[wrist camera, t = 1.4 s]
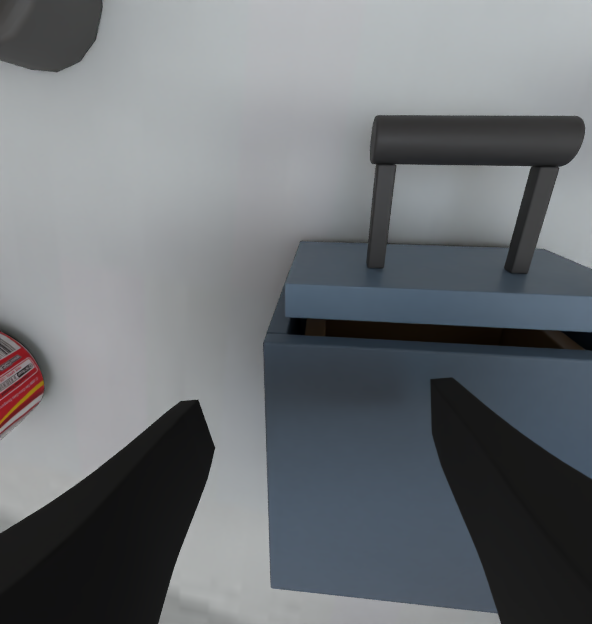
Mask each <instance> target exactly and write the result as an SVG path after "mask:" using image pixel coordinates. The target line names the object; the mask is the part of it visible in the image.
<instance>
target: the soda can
mask: <svg viewBox="0 0 592 624" xmlns="http://www.w3.org/2000/svg"><path fill="white" fill-rule="evenodd" d="M43 393H44V381H43V377H42V373H41V371H40V369H39V367H38V365H37V362H36V361H35V359H34V357H33V356H32V355H31V353H30V352H29V351H28V350H27V349H26V348H25V347H24V346H23V345H22V344H21V343H19V342H18V341H16V340H15V339H13V338H11V337H10V336H8V335H6V334H4V333H2V332H1V331H0V440H1V439H2V438H3V437H5V436H6V435H7V434H8V433H9V432H10V431H11V430H13V429H14V428H15V427H16V426H17V425H18V424H19V423H20V422H21V421H22V420H23V419H24V418H25V417H26V416H27V415H28V414H29V413H30V412H31V411H32V410H33V409H34V408H35V407H36V406H37V405H38V404H39V402H40V401H41V399H42V397H43Z"/></svg>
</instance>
